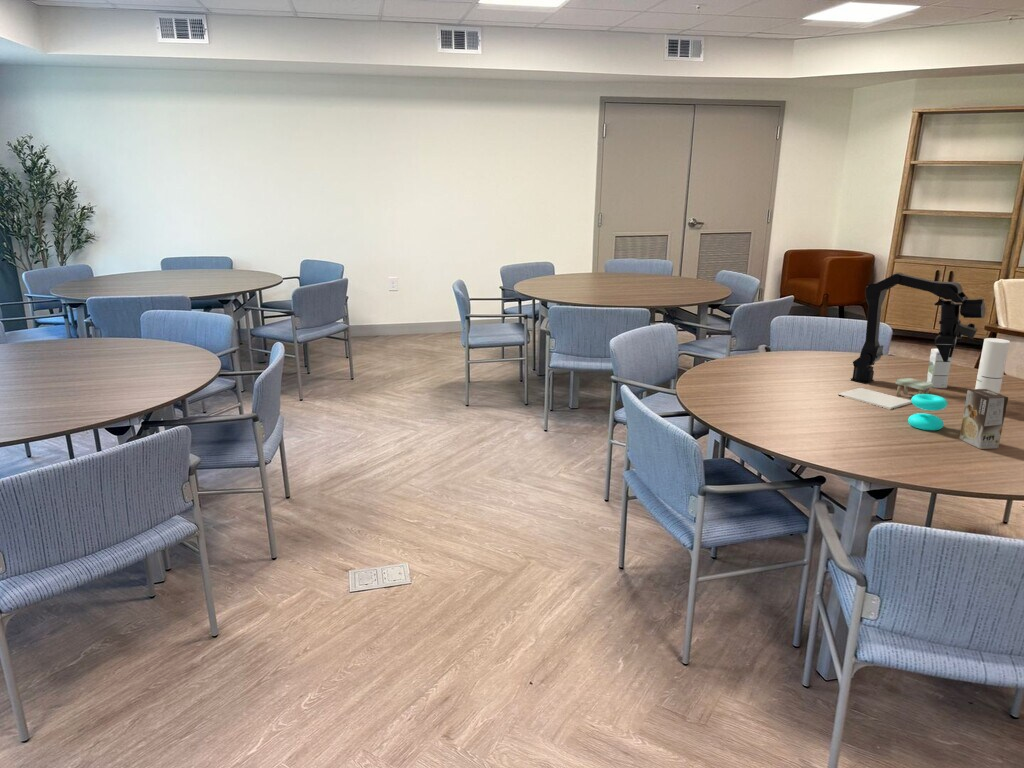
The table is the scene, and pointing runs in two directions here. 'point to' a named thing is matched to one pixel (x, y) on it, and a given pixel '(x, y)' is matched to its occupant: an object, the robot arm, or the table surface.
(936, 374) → the syrup box
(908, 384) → the stool
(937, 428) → the donuts
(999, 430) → the coffee box
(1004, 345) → the cylindrical container
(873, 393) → the white rectangular board
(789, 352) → the table surface
